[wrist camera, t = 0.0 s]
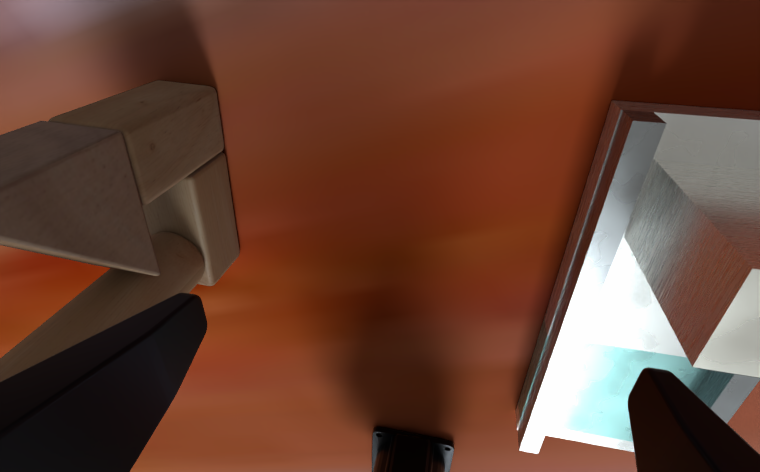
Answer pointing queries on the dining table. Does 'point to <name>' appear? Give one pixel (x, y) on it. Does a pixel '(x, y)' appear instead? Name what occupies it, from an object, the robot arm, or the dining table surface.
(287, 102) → the dining table surface
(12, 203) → the beige frame piece
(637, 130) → the rail
